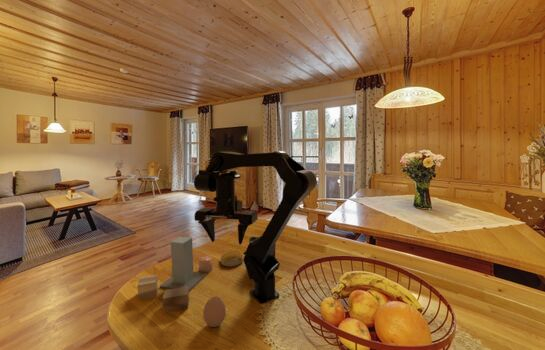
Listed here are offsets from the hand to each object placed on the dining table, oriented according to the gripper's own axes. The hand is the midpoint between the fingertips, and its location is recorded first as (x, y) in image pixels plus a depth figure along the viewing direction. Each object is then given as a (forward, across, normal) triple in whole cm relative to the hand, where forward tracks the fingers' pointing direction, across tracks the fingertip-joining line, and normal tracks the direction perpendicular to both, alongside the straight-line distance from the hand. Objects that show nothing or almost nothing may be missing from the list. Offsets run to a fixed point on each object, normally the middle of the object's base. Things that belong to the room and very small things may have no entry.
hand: (226, 242), depth 72 cm
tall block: (+12, +14, +3) cm, 19 cm away
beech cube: (+13, +20, +11) cm, 26 cm away
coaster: (+13, +14, +3) cm, 19 cm away
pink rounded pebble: (+13, +11, -5) cm, 18 cm away
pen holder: (+13, -7, -13) cm, 20 cm away
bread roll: (+14, +5, -14) cm, 20 cm away
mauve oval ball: (+13, -5, +17) cm, 22 cm away
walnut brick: (+13, +8, +14) cm, 21 cm away
